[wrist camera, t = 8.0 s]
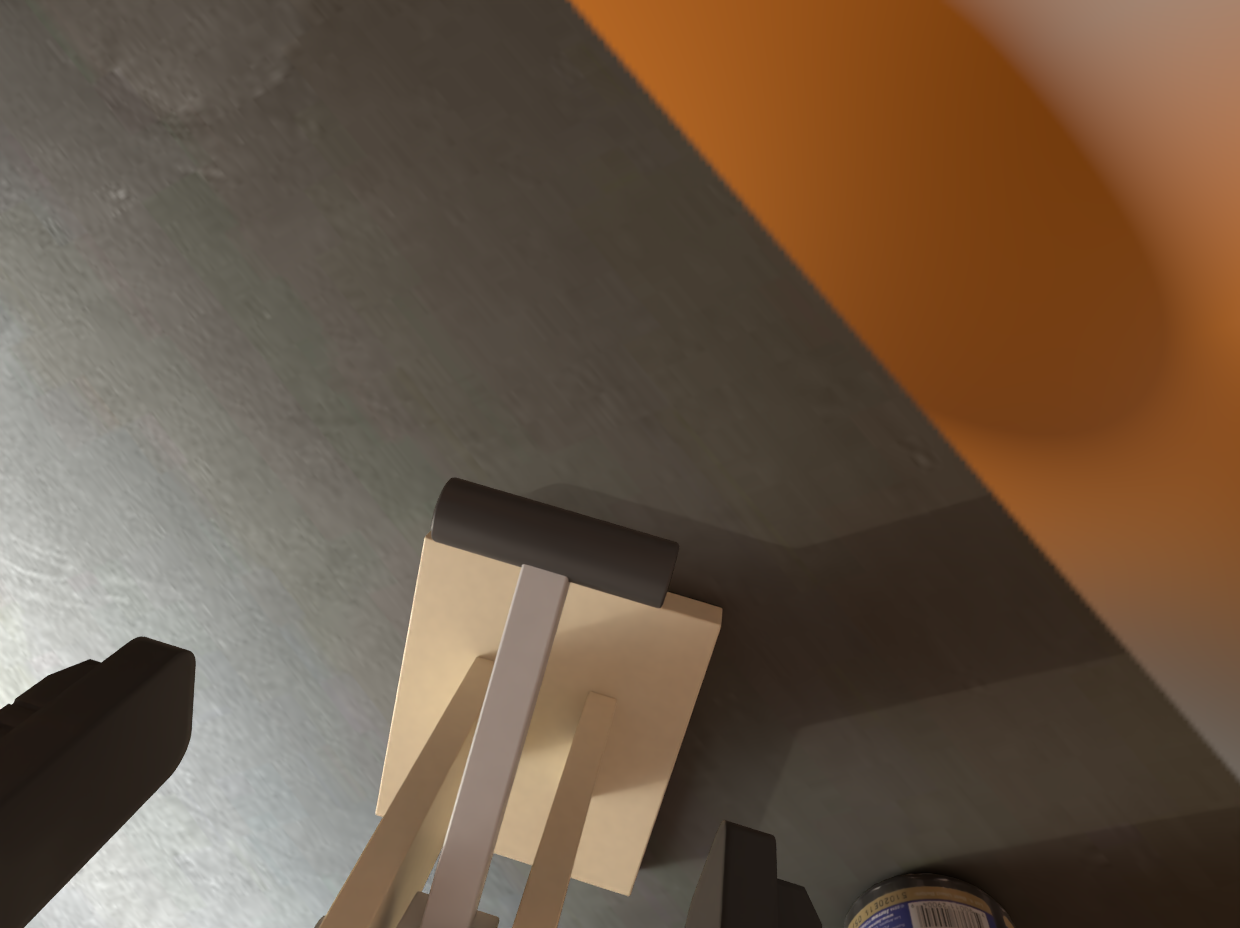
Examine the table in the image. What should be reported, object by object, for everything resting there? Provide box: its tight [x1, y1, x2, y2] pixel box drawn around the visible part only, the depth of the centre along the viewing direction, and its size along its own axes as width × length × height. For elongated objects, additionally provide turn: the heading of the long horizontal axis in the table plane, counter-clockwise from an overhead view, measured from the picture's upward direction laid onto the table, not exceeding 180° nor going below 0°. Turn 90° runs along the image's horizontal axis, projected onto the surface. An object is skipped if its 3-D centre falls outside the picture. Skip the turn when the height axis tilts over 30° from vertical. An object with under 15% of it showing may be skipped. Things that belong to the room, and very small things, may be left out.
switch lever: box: [396, 478, 679, 928], centre depth 19 cm, size 13×6×2 cm, turn 166°
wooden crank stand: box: [314, 531, 722, 928], centre depth 24 cm, size 12×10×13 cm
